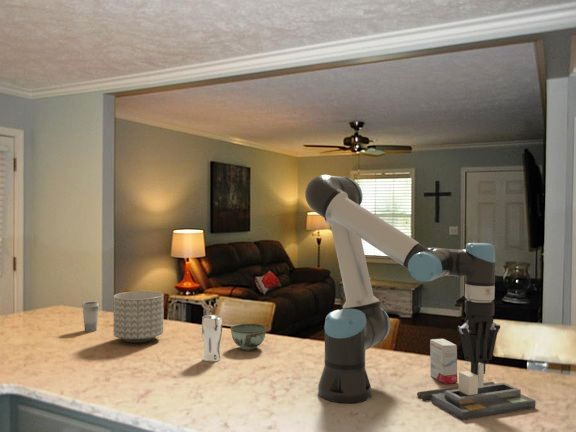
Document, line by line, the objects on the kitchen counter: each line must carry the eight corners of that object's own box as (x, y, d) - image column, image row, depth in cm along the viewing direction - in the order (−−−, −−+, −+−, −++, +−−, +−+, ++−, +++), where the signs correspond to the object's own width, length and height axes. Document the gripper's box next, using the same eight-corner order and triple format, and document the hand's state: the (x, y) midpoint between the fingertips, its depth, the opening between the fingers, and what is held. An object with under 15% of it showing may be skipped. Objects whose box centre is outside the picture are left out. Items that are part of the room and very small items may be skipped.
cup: (78, 332, 217) (78, 303, 217) (87, 328, 223) (87, 300, 223) (94, 332, 216) (94, 304, 215) (102, 329, 222) (102, 301, 222)
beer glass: (197, 360, 178) (198, 317, 178) (208, 355, 185) (208, 313, 184) (215, 363, 176) (215, 319, 175) (225, 357, 182) (225, 315, 182)
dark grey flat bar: (423, 400, 143) (423, 395, 143) (415, 396, 147) (415, 391, 147) (501, 389, 153) (501, 384, 153) (492, 385, 156) (492, 380, 156)
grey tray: (462, 420, 131) (463, 404, 130) (431, 401, 143) (431, 387, 143) (535, 407, 139) (535, 393, 139) (499, 391, 151) (500, 378, 151)
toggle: (467, 402, 137) (467, 376, 136) (457, 396, 140) (457, 372, 140) (478, 400, 138) (478, 375, 138) (468, 395, 142) (468, 370, 141)
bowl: (273, 347, 196) (273, 326, 196) (252, 355, 185) (252, 333, 185) (244, 342, 204) (245, 321, 203) (223, 349, 192) (223, 328, 192)
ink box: (458, 383, 158) (458, 345, 158) (443, 384, 157) (443, 346, 156) (443, 374, 166) (443, 338, 166) (429, 375, 165) (429, 338, 165)
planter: (156, 347, 195) (156, 299, 194) (106, 346, 195) (106, 299, 195) (168, 334, 214) (168, 291, 213) (122, 334, 214) (123, 290, 214)
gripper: (469, 303, 134) (467, 393, 135) (508, 301, 139) (506, 388, 139) (450, 298, 141) (449, 384, 142) (488, 296, 146) (486, 379, 146)
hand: (477, 386), depth 140 cm, fingers closed
